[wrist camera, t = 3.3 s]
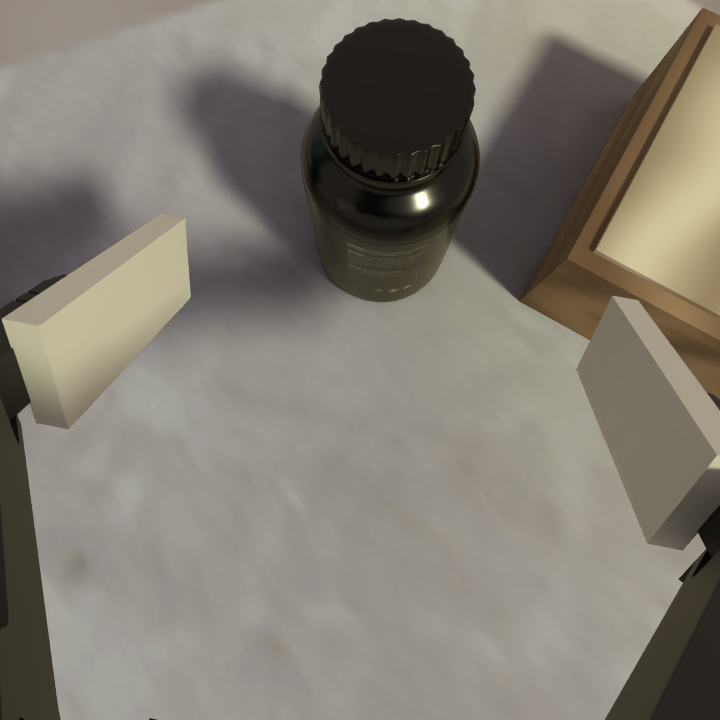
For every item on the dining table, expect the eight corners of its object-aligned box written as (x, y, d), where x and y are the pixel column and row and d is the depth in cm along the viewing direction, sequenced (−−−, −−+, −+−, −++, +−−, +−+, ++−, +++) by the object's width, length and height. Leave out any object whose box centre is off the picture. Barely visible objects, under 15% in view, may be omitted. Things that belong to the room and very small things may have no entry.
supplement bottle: (468, 239, 27) (556, 75, 15) (386, 331, 26) (410, 234, 14) (374, 164, 27) (386, -50, 16) (292, 250, 26) (238, 92, 15)
